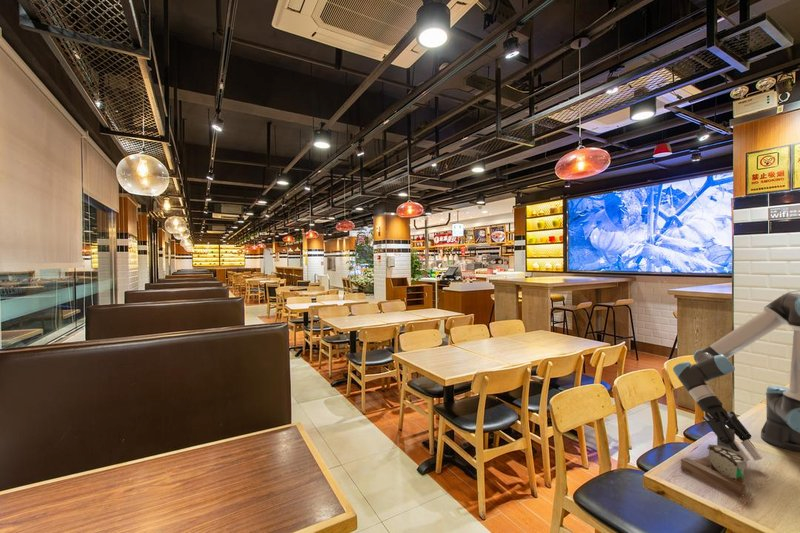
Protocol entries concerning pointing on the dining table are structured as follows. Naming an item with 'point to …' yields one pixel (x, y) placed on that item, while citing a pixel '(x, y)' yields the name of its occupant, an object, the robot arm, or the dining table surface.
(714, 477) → the sushi serving board
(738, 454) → the sushi piece
